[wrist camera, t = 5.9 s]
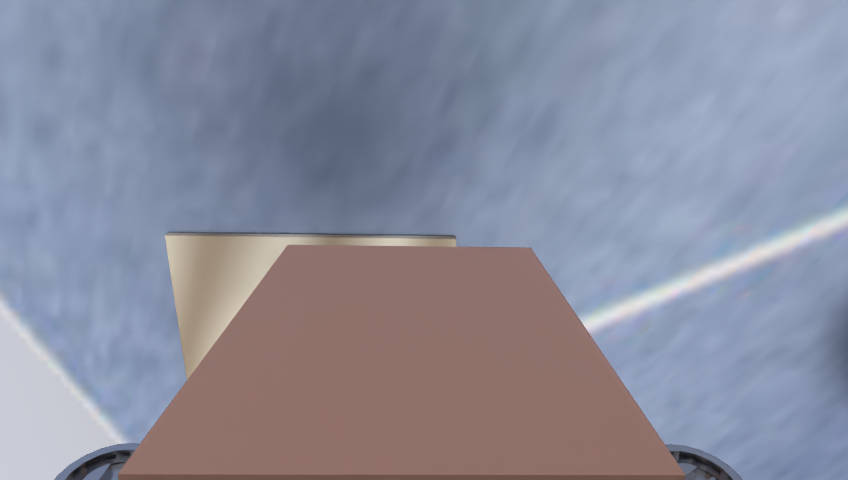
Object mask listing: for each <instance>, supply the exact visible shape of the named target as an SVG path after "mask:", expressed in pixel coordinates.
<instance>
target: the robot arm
mask: <svg viewBox="0 0 848 480" xmlns="http://www.w3.org/2000/svg"><path fill="white" fill-rule="evenodd" d="M139 445H140V444H137V443H127V444H117V445H113V446H109V447H105V448H102V449H99V450H97V451H94V452H92V453H90V454H87V455H85V456H83V457H81V458H80V459H78V460H77V461H75V462H73V463H72V464H70V465H69V466H68V467H67V468H66V469H64V470H63V471H62V472H61V473H60V474H59V475H58V476H57V477H56V478H55V480H118V475H117V474H118V473H119V472H120V470H121V469H122V468H123V466H124V465H125V463H126V462H127V461H128V459H129V458H130V457H131V455H132V454H133V453H134V451H135V450H136V449H137V447H138V446H139ZM665 446H666V447H667V449H668V450H669V451H670V453H671V454H672V456H673V457H674V459H675V460H676V462H677V463H678V465H679V466H680V468H681V469H682V471H683V472H684V473H685V480H742V478H741V476H740V475H738V474H737V473H736V472H735V471H734V470H733V469H732V468H731V467H730V466H729V465H727V464H726V463H724V462H723V461H721V460H720V459H718V458H717V457H715V456H713V455H710V454H708V453H706V452H704V451H702V450H699V449H695V448H691V447H688V446H683V445H672V444H669V445H665Z"/></svg>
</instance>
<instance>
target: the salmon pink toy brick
mask: <svg viewBox="0 0 848 480" xmlns="http://www.w3.org/2000/svg"><path fill="white" fill-rule="evenodd" d="M117 475H118V480H685V473H684V472H683V471H682V469H681V468H680V466H679V465H678V463H677V462H676V460H675V459H674V457H673V456H672V454H671V453H670V451H669V450H668V449H667V447H666V446H665V444H664V443H663V441H662V440H661V438H660V437H659V435H658V434H657V432H656V431H655V429H654V428H653V427H652V425H651V424H650V422H649V421H648V419H647V418H646V416H645V415H644V413H643V412H642V410H641V409H640V407H639V406H638V405H637V403H636V402H635V400H634V399H633V397H632V396H631V394H630V393H629V391H628V390H627V388H626V387H625V385H624V384H623V383H622V381H621V380H620V378H619V377H618V375H617V374H616V372H615V371H614V369H613V368H612V366H611V365H610V363H609V362H608V361H607V359H606V358H605V356H604V355H603V353H602V352H601V350H600V349H599V347H598V346H597V344H596V343H595V341H594V340H593V339H592V337H591V336H590V334H589V333H588V331H587V330H586V328H585V327H584V325H583V324H582V322H581V321H580V319H579V318H578V317H577V315H576V314H575V312H574V311H573V309H572V308H571V306H570V305H569V303H568V302H567V300H566V299H565V297H564V296H563V295H562V293H561V292H560V290H559V289H558V287H557V286H556V284H555V283H554V281H553V280H552V278H551V277H550V275H549V274H548V273H547V271H546V270H545V268H544V267H543V265H542V264H541V262H540V261H539V259H538V258H537V256H536V255H535V253H534V252H533V251H532V249H531V248H519V247H439V246H359V245H287V246H286V248H285V249H284V250H283V252H282V253H281V254H280V256H279V257H278V258H277V260H276V261H275V262H274V264H273V265H272V267H271V268H270V269H269V271H268V272H267V273H266V275H265V276H264V277H263V279H262V280H261V281H260V283H259V284H258V285H257V287H256V288H255V289H254V291H253V292H252V294H251V295H250V296H249V298H248V299H247V300H246V302H245V303H244V304H243V306H242V307H241V308H240V310H239V311H238V312H237V314H236V315H235V316H234V318H233V319H232V320H231V322H230V323H229V325H228V326H227V327H226V329H225V330H224V331H223V333H222V334H221V335H220V337H219V338H218V339H217V341H216V342H215V343H214V345H213V346H212V347H211V349H210V350H209V352H208V353H207V354H206V356H205V357H204V358H203V360H202V361H201V362H200V364H199V365H198V366H197V368H196V369H195V370H194V372H193V373H192V374H191V376H190V377H189V378H188V380H187V381H186V383H185V384H184V385H183V387H182V388H181V389H180V391H179V392H178V393H177V395H176V396H175V397H174V399H173V400H172V401H171V403H170V404H169V405H168V407H167V408H166V410H165V411H164V412H163V414H162V415H161V416H160V418H159V419H158V420H157V422H156V423H155V424H154V426H153V427H152V428H151V430H150V431H149V432H148V434H147V435H146V436H145V438H144V439H143V441H142V442H141V443H140V445H139V446H138V447H137V449H136V450H135V451H134V453H133V454H132V455H131V457H130V458H129V459H128V461H127V462H126V463H125V465H124V466H123V468H122V469H121V470H120V472H119V473H118V474H117Z"/></svg>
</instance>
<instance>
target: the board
mask: <svg viewBox="0 0 848 480" xmlns="http://www.w3.org/2000/svg"><path fill="white" fill-rule="evenodd" d="M165 240H166V247H167V253H168V260H169V266H170V273H171V279H172V286H173V292H174V299H175V305H176V311H177V318H178V324H179V331H180V337H181V344H182V350H183V357H184V363H185V370H186V376H187V380H188V378H189V377H190V376H191V374H192V373H193V372H194V370H195V369H196V368H197V366H198V365H199V364H200V362H201V361H202V360H203V358H204V357H205V356H206V354H207V353H208V352H209V350H210V349H211V347H212V346H213V345H214V343H215V342H216V341H217V339H218V338H219V337H220V335H221V334H222V333H223V331H224V330H225V329H226V327H227V326H228V325H229V323H230V322H231V320H232V319H233V318H234V316H235V315H236V314H237V312H238V311H239V310H240V308H241V307H242V306H243V304H244V303H245V302H246V300H247V299H248V298H249V296H250V295H251V294H252V292H253V291H254V289H255V288H256V287H257V285H258V284H259V283H260V281H261V280H262V279H263V277H264V276H265V275H266V273H267V272H268V271H269V269H270V268H271V267H272V265H273V264H274V262H275V261H276V260H277V258H278V257H279V256H280V254H281V253H282V252H283V250H284V249H285V248H286V246H287V245H359V246H439V247H456V236H398V235H318V234H237V233H168V234H166V235H165Z"/></svg>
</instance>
